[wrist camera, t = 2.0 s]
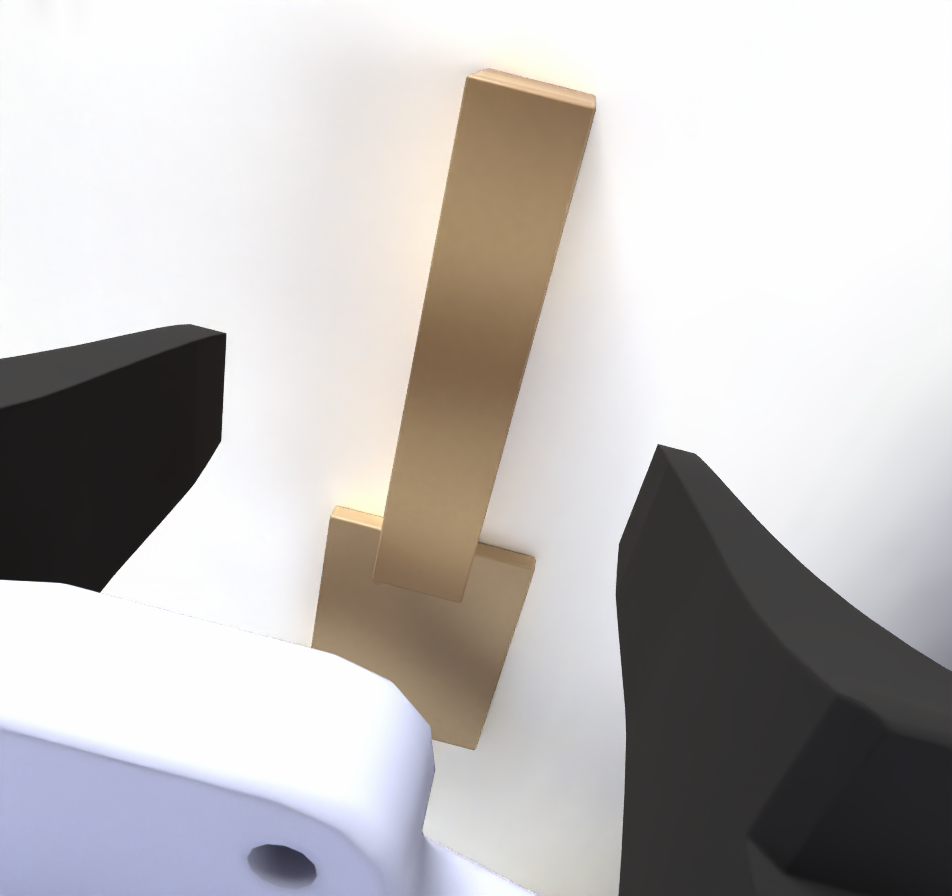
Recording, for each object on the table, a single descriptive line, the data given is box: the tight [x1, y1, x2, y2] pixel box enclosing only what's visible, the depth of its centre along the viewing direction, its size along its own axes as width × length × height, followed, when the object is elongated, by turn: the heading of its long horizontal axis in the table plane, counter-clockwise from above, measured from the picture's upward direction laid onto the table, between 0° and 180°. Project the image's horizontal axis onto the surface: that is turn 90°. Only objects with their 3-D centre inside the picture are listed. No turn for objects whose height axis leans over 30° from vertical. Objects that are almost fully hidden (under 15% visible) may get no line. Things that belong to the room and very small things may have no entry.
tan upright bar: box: [311, 69, 596, 750], centre depth 20 cm, size 20×6×3 cm, turn 167°
